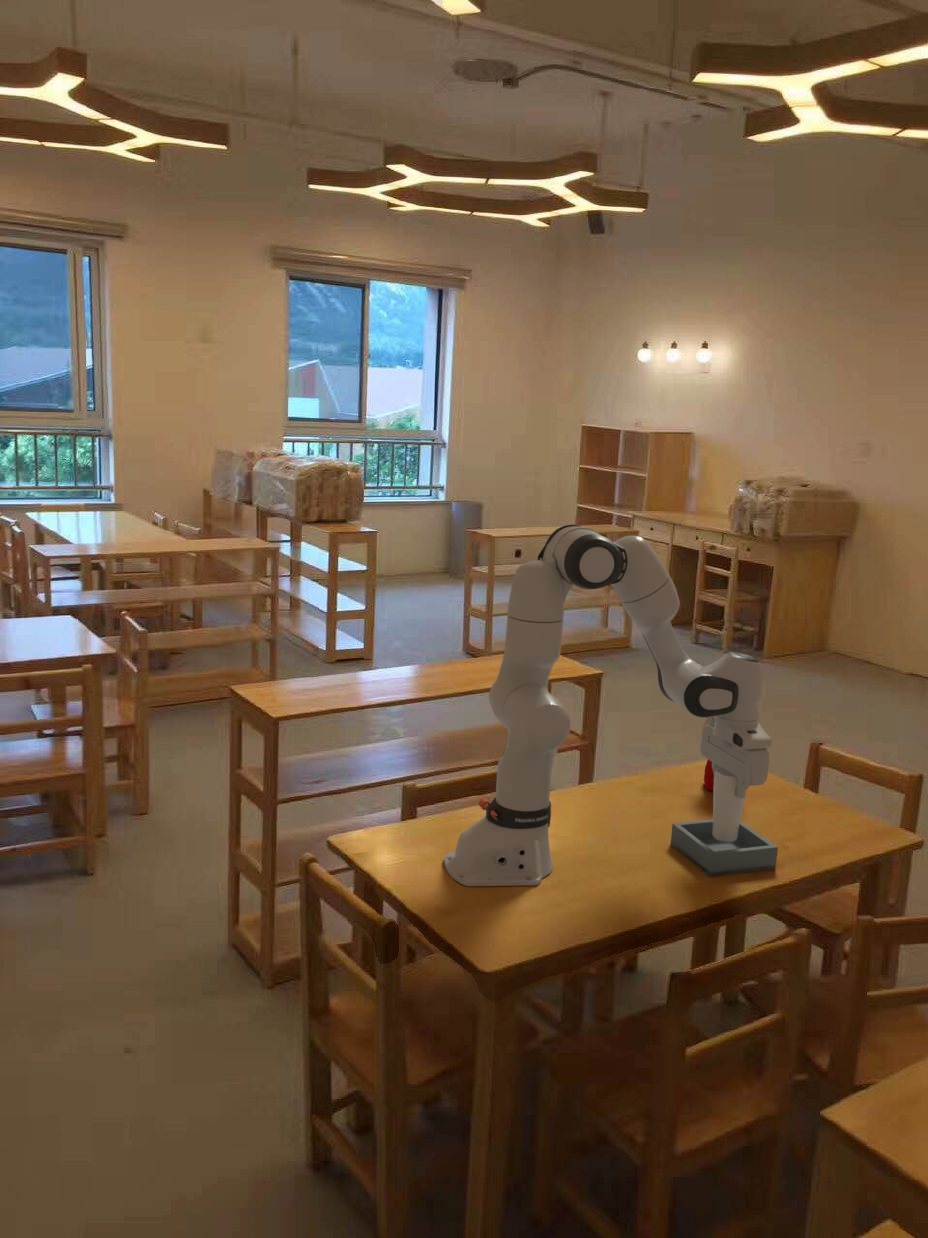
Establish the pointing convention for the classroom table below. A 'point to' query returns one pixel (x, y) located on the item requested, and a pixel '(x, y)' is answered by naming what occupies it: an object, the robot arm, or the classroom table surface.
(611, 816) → the classroom table surface
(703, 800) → the classroom table surface
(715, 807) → the drinking glass
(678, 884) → the classroom table surface
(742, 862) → the bin
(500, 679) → the robot arm
